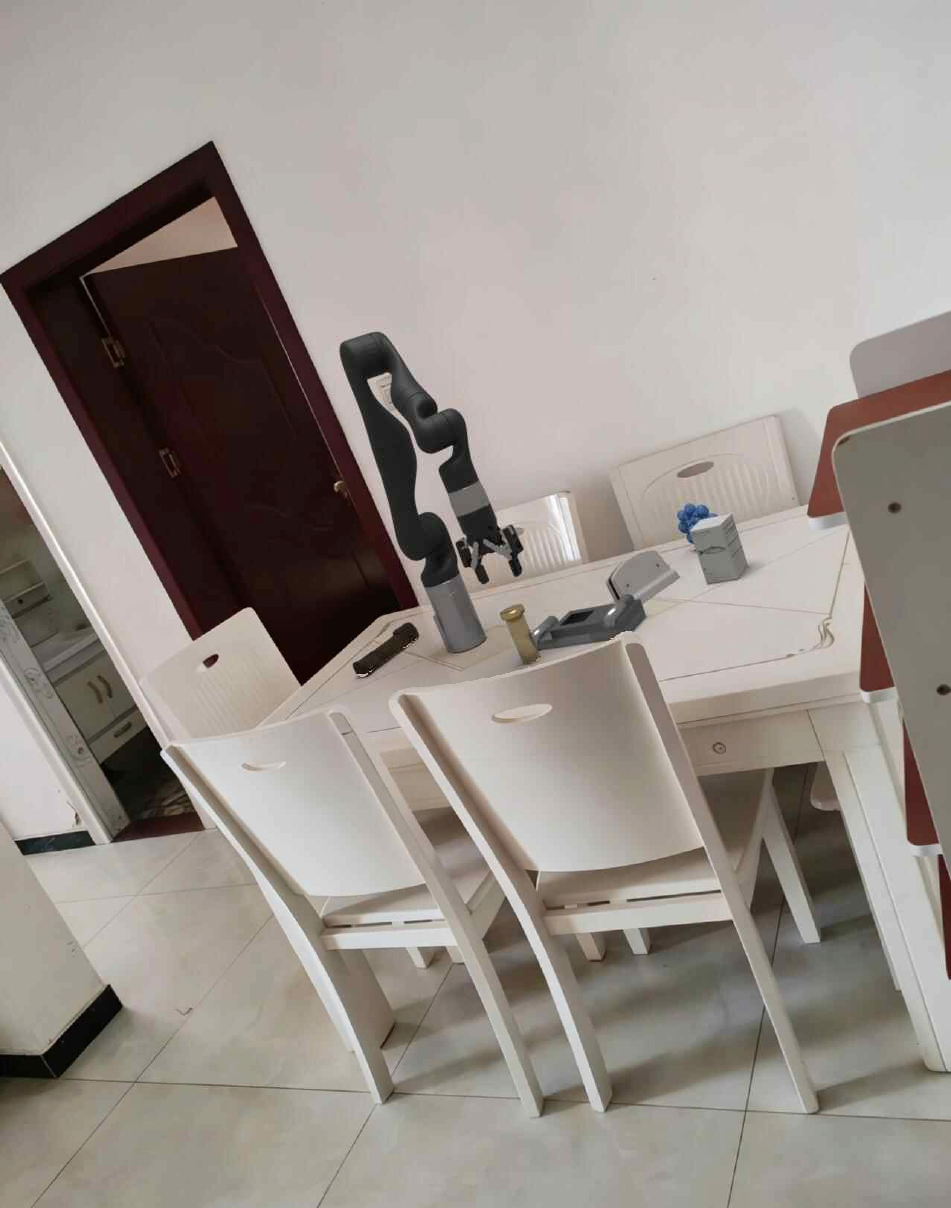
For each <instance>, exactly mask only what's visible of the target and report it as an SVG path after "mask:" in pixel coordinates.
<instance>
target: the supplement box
mask: <svg viewBox="0 0 951 1208" xmlns="http://www.w3.org/2000/svg"><path fill="white" fill-rule="evenodd" d="M690 534H691V537H692V540H693V543H694V544H693V545H694V546H693V547H694V548H695V552H696V555H697V558H698V560H699V561H698V562H699V564H700V567H701V570H702V574H703V576H704V579H705V583H706V585H710V584H714V583H715V584H716V583H719V582H720V583H721V582H727V581H735V580H738V579H739V578H740V577H742V575H743V574H744V573H745V571H746V570H747V569H748V568H749V564H748V561H747V558H746V555H745V551H744V548H743V545H742V541H741V539H740V538H741V537H740V535H739V532H738V529H737V526H736V522H735V519H734V515H733V513H728V514H722V515H718V516H717V517H711V518H706V519H702V520H700V521H699V522H698V523H697V524H696V525H695V526H694V527H693V528H692V529H691V530H690Z"/></svg>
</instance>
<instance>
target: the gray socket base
mask: <svg viewBox="0 0 951 1208" xmlns="http://www.w3.org/2000/svg"><path fill="white" fill-rule="evenodd" d="M646 617H647V613H646V611H645V609H644V606H643V604H642V603H641V600H640V599H637V600H635V598H634V597H633V596H632V595H631V594H624V595H623V596H622V597H621V598H620V599H619V600H618V601H617V602H616V603H615V602H613V603H609V604H603V605H598V606H591V607H590V606H589V607H585V608H584V607H583V608H579V609H574V610H569V611H568V612H567V613H566V614H565V615H563V617H562V618H561V619H560V620H559V619H558V617H556V616H555V615H548V617H546V618H545V620H543V621H542V622H541V623H540V624H539V625H538V626H537V627H535V629H534V630H533V631H532V632H531V634H532V637H533V640H534V642H535V645H536V647H537V650H538V651H540V650H539V649H543V650H549V649H548V648H550V649H555V648H554V647H557V648H563V647H570V646H577V645H582V644H590V643H597V642H605V641H610V640H609V639H610V638H614V637H615V636H616V635H618V634H620V633H621V632H625V631H633V632H634V631H635V629H636V628H637V627H638V626H639V625H640V624H641V623H642V621H644V619H645V618H646ZM562 646H563V647H562Z"/></svg>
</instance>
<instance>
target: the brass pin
mask: <svg viewBox="0 0 951 1208" xmlns="http://www.w3.org/2000/svg"><path fill="white" fill-rule="evenodd" d="M525 612H526V609H525V607H524V605H523V604H522V603H518V604H514V605H510V606H508V607H506V608H504V609H503V610H501V611H500V612H499V615H500V619H501V620H502V621H505V623H506V626H507V628H508V631H509V633H510V636H511V638H512V641H513V643H514V645H515V649H516V650H517V654H518V655H519V657H520V660H521V663H522V665H523V664H524V666H526V665H525V664H529V665H531V663H532V662H535V661H536V660H537V659H538V658H540V659H541V655H540V653H539V650H537V647H536V645H535V642H534V640H533V637H532V634H531V633H532V632H531V630H530V627H529V624H528V622H527V620H526V617H525V615H524V613H525ZM535 663H536V662H535ZM532 664H533V663H532Z"/></svg>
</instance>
